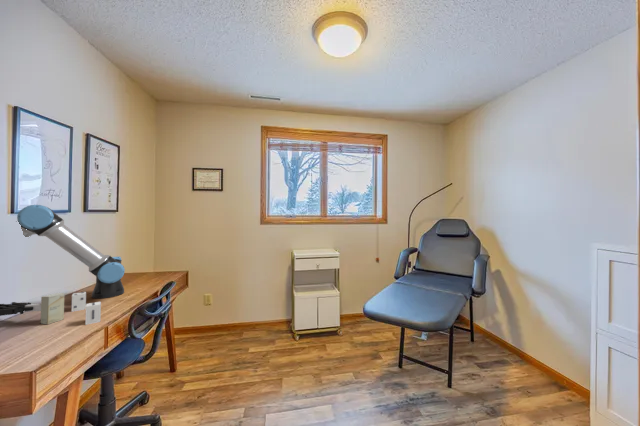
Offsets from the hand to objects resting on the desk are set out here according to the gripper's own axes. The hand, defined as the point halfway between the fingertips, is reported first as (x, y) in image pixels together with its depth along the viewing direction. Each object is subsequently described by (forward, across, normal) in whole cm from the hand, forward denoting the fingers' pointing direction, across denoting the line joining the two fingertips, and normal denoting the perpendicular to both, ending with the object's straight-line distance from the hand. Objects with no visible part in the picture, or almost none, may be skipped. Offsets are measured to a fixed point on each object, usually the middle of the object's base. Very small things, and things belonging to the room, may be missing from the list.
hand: (43, 307), depth 113 cm
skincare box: (+4, 0, -7) cm, 8 cm away
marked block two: (+4, -15, -7) cm, 17 cm away
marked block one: (+22, +4, -7) cm, 23 cm away
